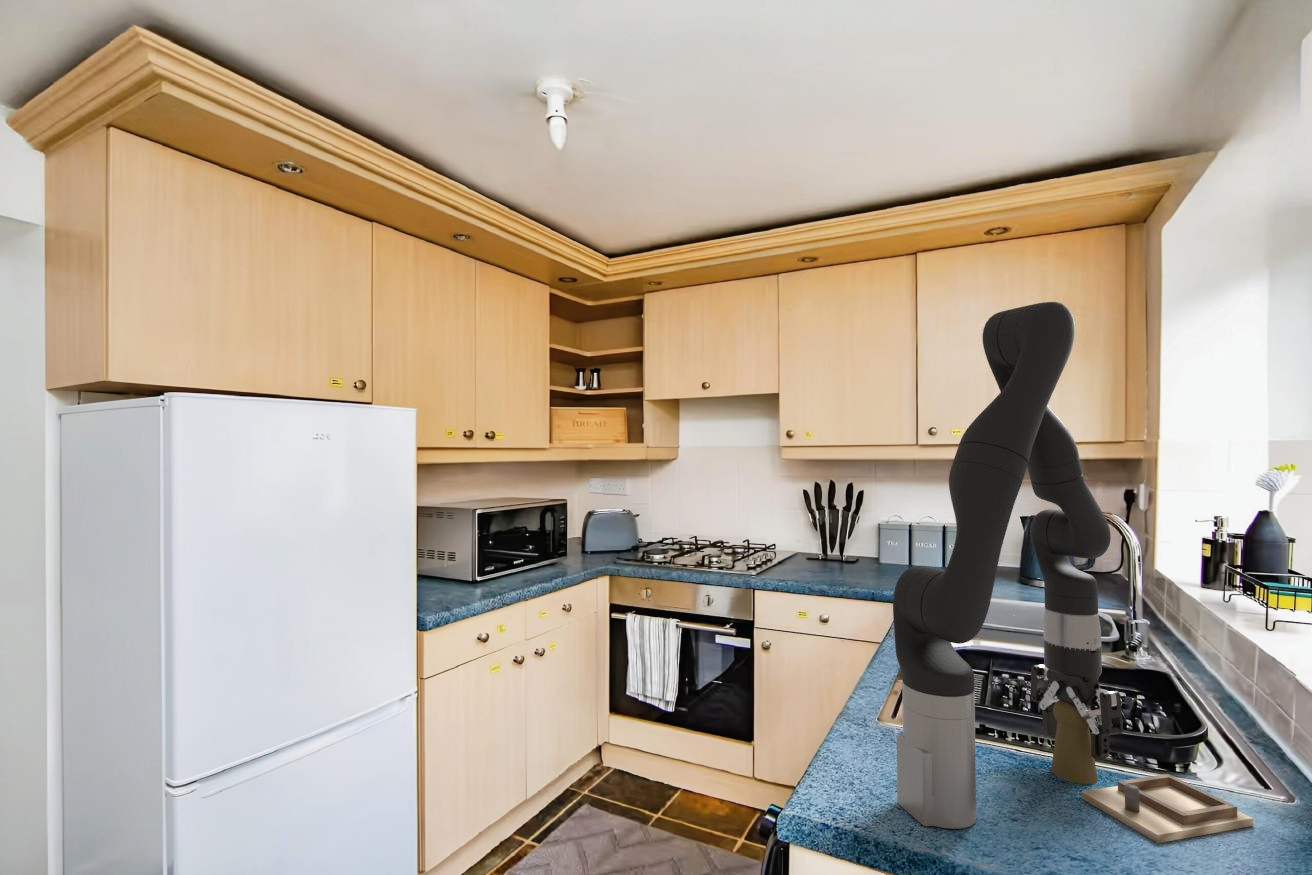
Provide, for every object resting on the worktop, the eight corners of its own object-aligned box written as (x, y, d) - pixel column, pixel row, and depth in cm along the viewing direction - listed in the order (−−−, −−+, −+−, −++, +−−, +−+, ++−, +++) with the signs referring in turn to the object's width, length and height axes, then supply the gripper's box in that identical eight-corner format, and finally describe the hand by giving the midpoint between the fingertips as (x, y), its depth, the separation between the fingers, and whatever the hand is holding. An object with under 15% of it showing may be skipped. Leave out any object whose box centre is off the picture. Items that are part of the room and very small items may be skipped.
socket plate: (1158, 842, 82) (1157, 810, 82) (1081, 798, 92) (1081, 769, 92) (1253, 825, 85) (1252, 794, 86) (1169, 784, 96) (1168, 757, 96)
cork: (1079, 764, 102) (1078, 694, 103) (1107, 783, 96) (1105, 709, 97) (1042, 765, 102) (1041, 695, 103) (1068, 784, 96) (1066, 710, 97)
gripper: (1015, 629, 106) (1018, 729, 106) (1093, 655, 92) (1096, 770, 92) (1053, 626, 108) (1056, 724, 107) (1135, 651, 94) (1138, 763, 93)
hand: (1074, 745), depth 99 cm, fingers open, 8 cm apart
